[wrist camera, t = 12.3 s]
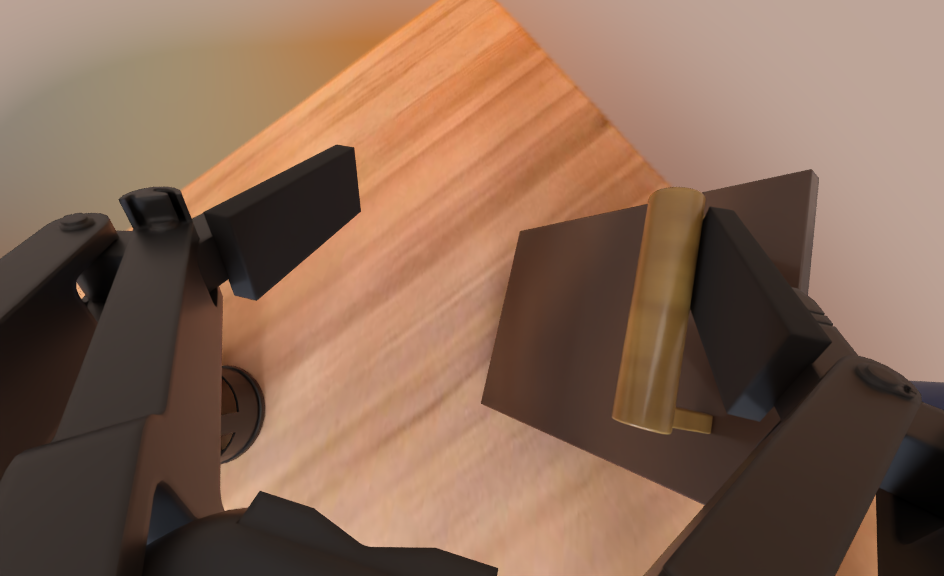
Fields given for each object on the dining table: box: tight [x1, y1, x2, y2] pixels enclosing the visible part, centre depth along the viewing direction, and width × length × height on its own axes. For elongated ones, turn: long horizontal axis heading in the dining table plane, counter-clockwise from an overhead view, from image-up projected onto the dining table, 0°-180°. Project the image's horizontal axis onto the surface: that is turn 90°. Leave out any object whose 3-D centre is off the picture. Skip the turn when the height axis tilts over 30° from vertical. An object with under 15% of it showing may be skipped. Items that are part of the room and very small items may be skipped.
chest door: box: [481, 169, 819, 505], centre depth 19 cm, size 17×13×6 cm
